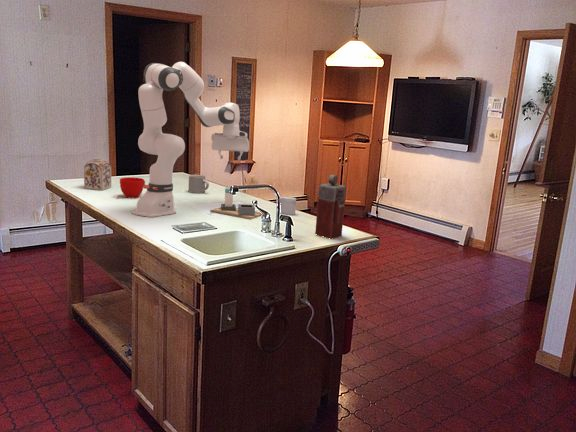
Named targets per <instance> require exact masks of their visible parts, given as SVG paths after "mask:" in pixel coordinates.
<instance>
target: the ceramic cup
mask: <svg viewBox="0 0 576 432" xmlns="http://www.w3.org/2000/svg"><path fill="white" fill-rule="evenodd" d="M119 185H120V186H119V187H120V190H121V192H122V194H123V195H124V197H125V198H128V199H136V198H138V197H140V195H142V193H143V189H144V188H143V186H144V185H146V180H145V179H144V178H140V177H130V176H129V177H121V178H119Z"/></svg>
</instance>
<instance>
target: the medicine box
mask: <svg viewBox="0 0 576 432" xmlns="http://www.w3.org/2000/svg"><path fill="white" fill-rule="evenodd" d="M280 202H281V213H284V214H283V215H287V216H288V215H289V216H294V215H295V214H296V207H297V206H296V205H297V197H289V196H281V197H280V198H279V203H280Z"/></svg>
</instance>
